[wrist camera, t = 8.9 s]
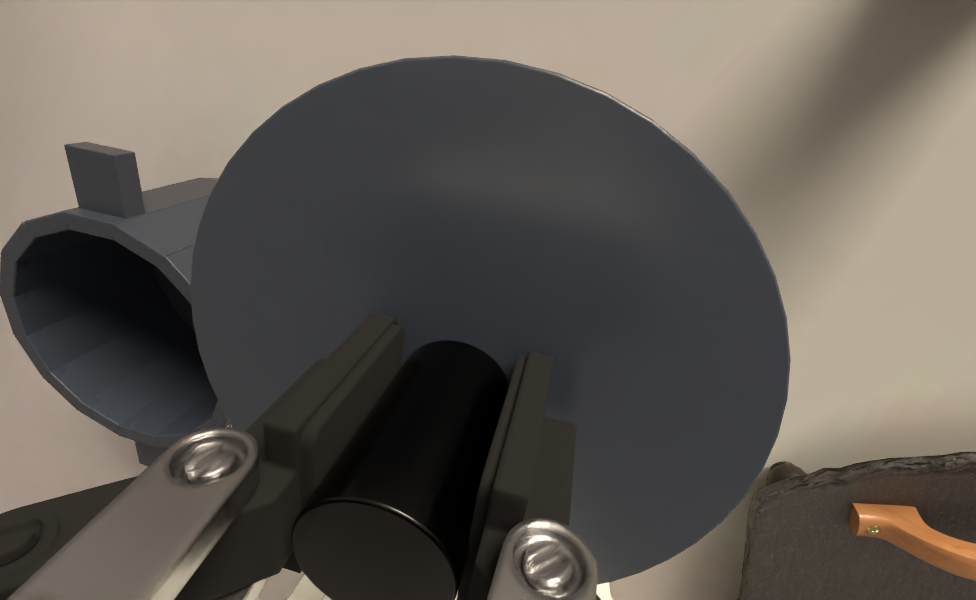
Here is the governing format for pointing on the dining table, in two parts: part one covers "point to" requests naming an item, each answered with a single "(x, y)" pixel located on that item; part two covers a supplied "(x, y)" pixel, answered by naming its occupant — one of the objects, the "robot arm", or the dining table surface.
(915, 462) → the serving tray
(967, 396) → the dining table surface
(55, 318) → the pot
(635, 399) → the lid
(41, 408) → the dining table surface
